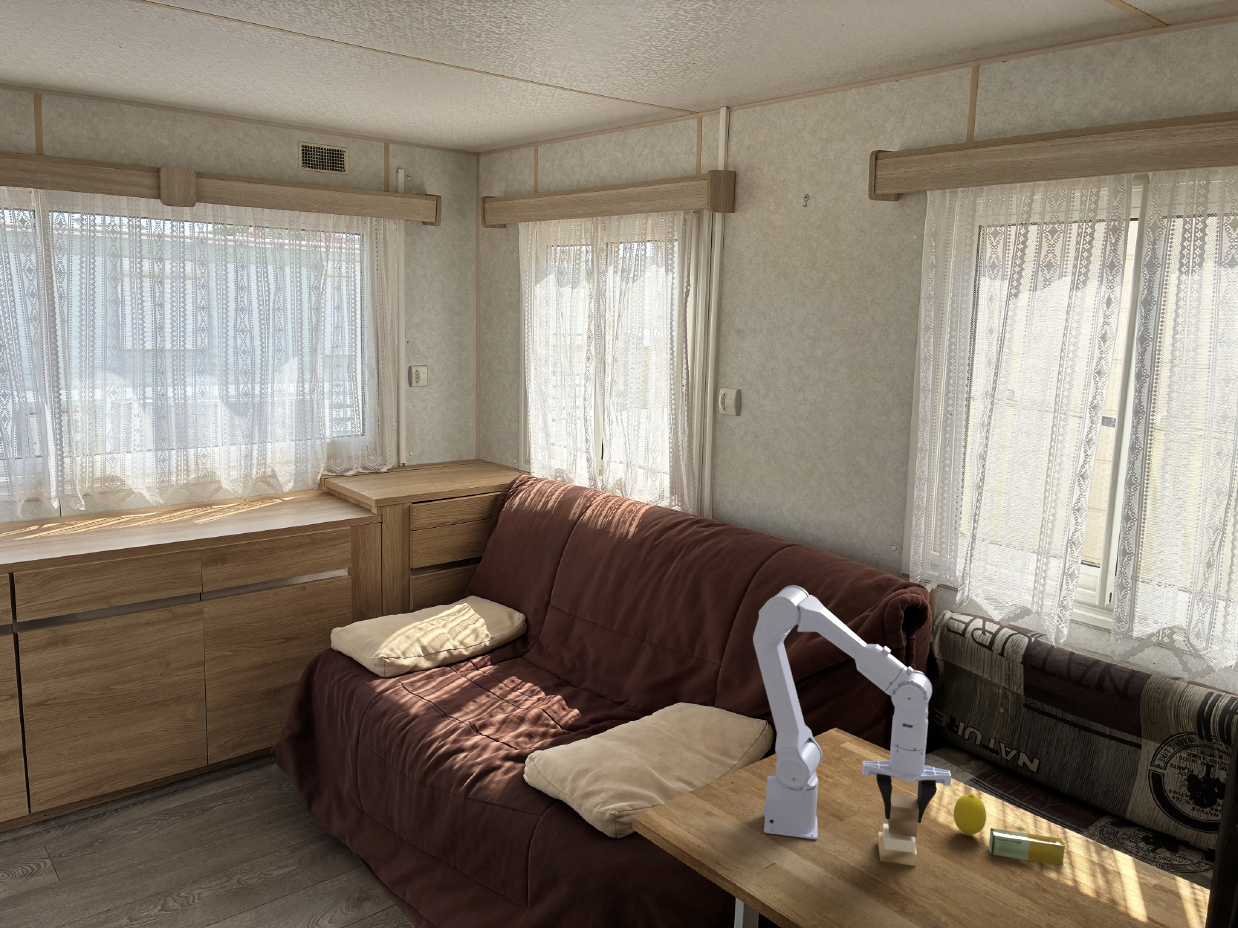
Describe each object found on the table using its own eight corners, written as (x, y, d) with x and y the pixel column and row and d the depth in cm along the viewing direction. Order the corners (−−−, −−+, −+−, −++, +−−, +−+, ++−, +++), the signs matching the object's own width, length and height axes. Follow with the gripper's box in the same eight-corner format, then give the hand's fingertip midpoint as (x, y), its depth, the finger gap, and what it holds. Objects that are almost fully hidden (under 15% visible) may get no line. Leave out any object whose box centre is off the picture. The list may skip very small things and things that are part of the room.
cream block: (884, 848, 159) (885, 837, 159) (882, 833, 164) (883, 823, 164) (914, 852, 158) (915, 841, 158) (911, 837, 163) (912, 827, 163)
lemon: (986, 845, 166) (990, 803, 164) (954, 840, 167) (958, 799, 166) (981, 829, 171) (985, 788, 170) (949, 825, 172) (953, 784, 171)
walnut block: (889, 832, 159) (891, 805, 158) (887, 819, 163) (890, 793, 163) (916, 837, 158) (918, 809, 157) (914, 823, 162) (916, 797, 162)
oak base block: (879, 862, 159) (880, 849, 159) (877, 844, 165) (878, 831, 165) (916, 867, 158) (917, 854, 158) (912, 849, 164) (913, 836, 164)
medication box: (989, 855, 163) (992, 834, 162) (987, 847, 165) (989, 826, 165) (1063, 866, 160) (1066, 845, 159) (1059, 857, 163) (1062, 836, 162)
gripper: (866, 748, 156) (860, 823, 158) (956, 758, 154) (949, 835, 155) (863, 731, 163) (858, 804, 165) (949, 740, 160) (943, 814, 162)
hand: (902, 817), depth 161 cm, fingers closed on walnut block, 4 cm apart
